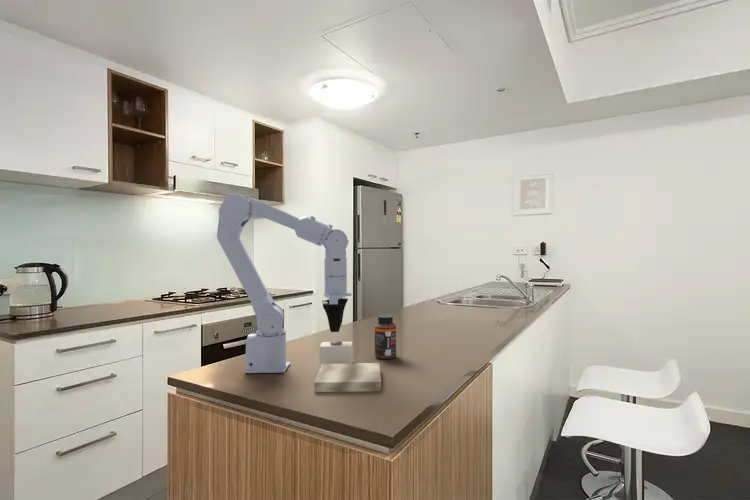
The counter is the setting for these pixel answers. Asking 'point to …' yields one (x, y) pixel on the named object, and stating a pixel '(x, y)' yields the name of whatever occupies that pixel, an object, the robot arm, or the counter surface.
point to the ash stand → (348, 377)
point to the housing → (335, 352)
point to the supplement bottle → (385, 337)
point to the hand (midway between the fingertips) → (336, 328)
